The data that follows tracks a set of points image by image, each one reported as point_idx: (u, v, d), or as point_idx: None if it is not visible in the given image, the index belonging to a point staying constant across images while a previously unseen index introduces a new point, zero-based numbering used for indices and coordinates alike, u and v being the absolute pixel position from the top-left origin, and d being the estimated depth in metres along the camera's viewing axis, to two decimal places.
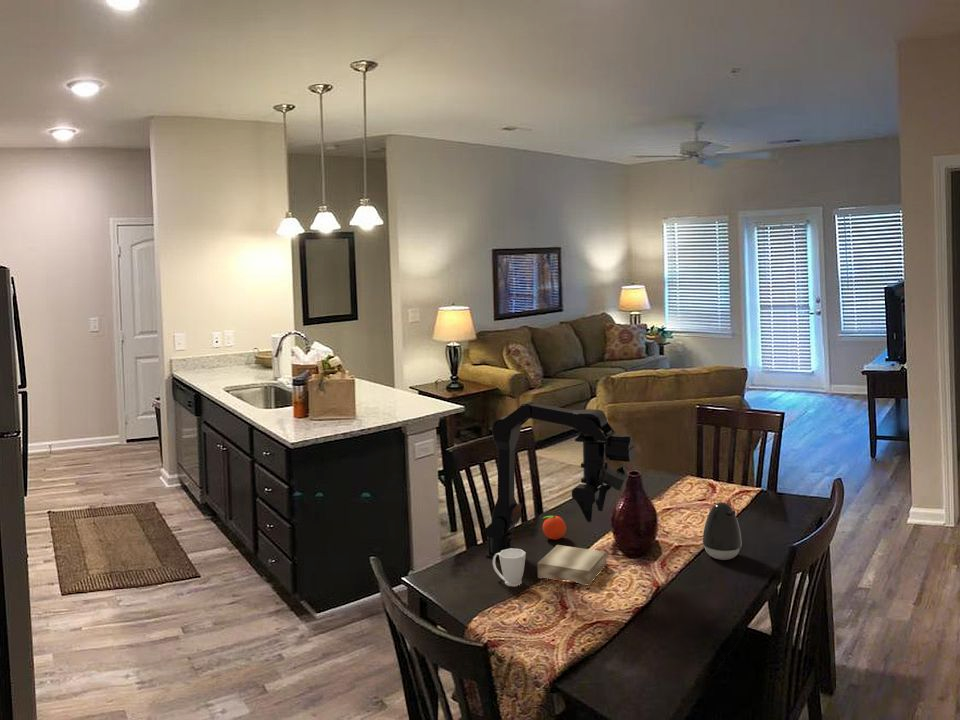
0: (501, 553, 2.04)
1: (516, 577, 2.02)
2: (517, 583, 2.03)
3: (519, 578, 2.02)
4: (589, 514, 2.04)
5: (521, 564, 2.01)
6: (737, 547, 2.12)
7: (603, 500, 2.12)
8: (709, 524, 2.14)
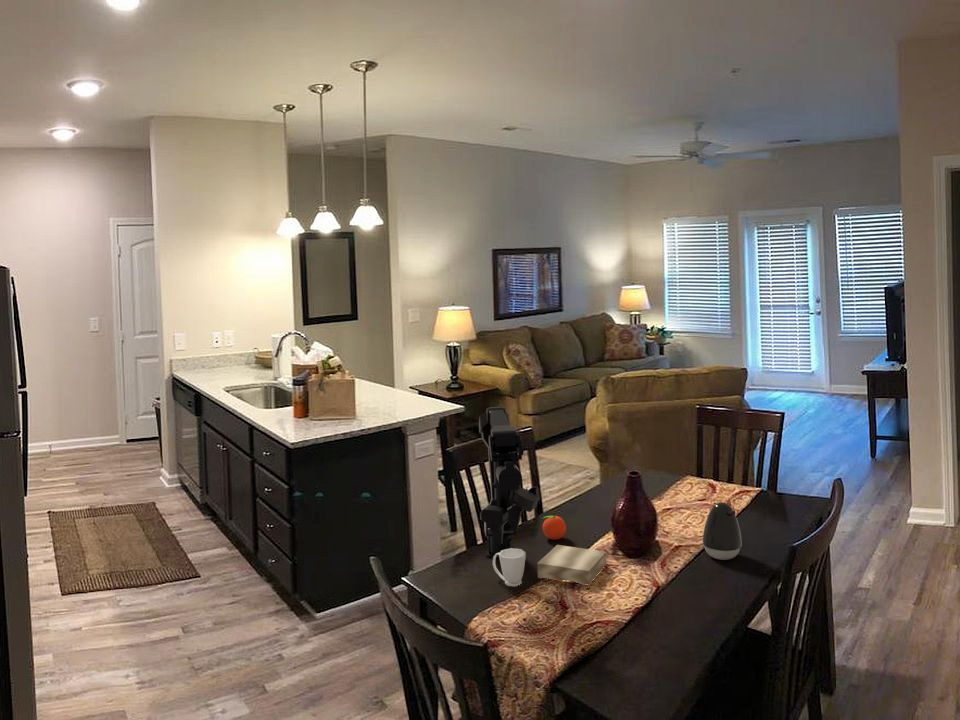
0: (501, 553, 2.04)
1: (516, 577, 2.02)
2: (517, 583, 2.03)
3: (519, 578, 2.02)
4: (499, 536, 1.99)
5: (521, 564, 2.01)
6: (737, 547, 2.12)
7: (517, 521, 2.07)
8: (709, 524, 2.14)
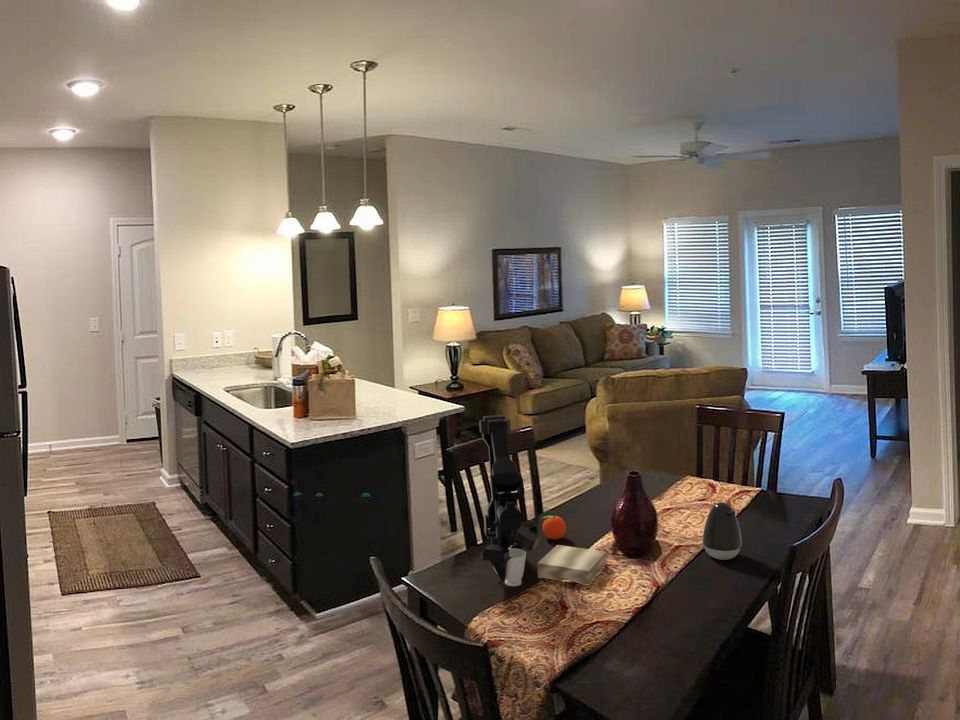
0: None
1: (516, 577, 2.02)
2: (517, 583, 2.03)
3: (519, 578, 2.02)
4: (502, 573, 2.01)
5: (521, 564, 2.01)
6: (737, 547, 2.12)
7: None
8: (709, 524, 2.14)
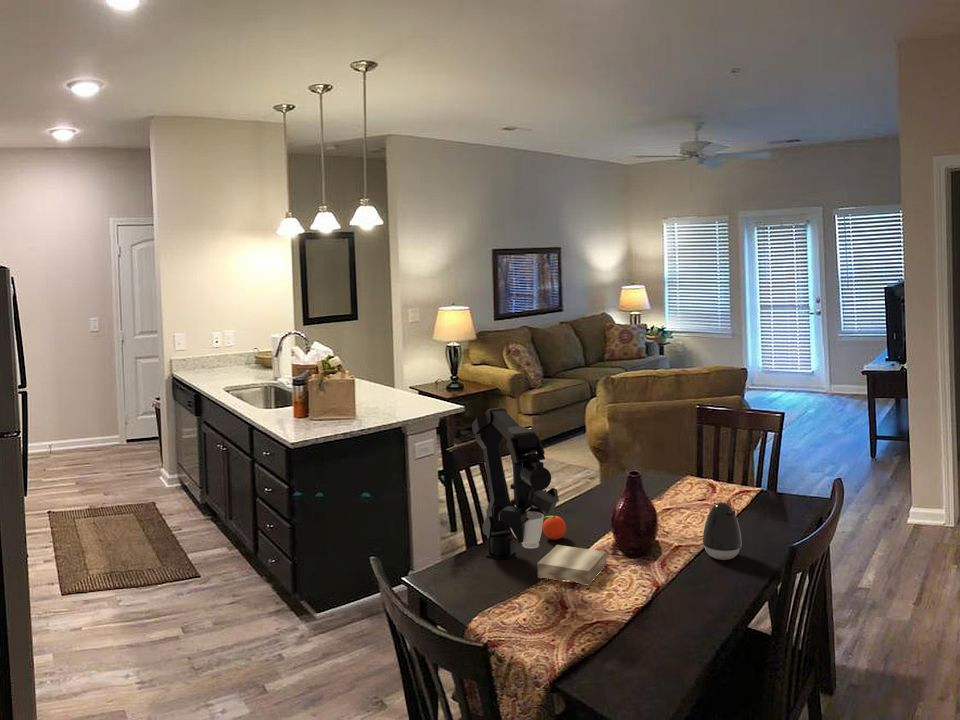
0: None
1: (533, 539, 2.02)
2: (534, 545, 2.03)
3: (536, 540, 2.02)
4: (520, 535, 2.01)
5: (539, 526, 2.02)
6: (737, 547, 2.12)
7: None
8: (709, 524, 2.14)
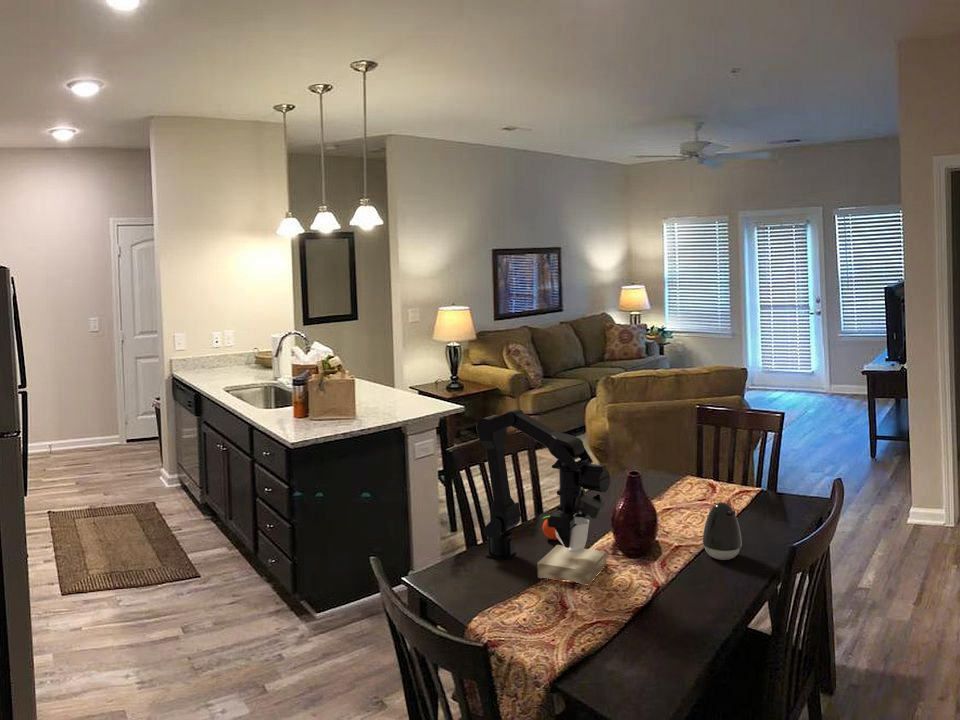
0: None
1: (580, 544, 2.06)
2: (580, 550, 2.07)
3: (583, 545, 2.06)
4: (567, 540, 2.05)
5: (585, 531, 2.06)
6: (737, 547, 2.12)
7: None
8: (709, 524, 2.14)
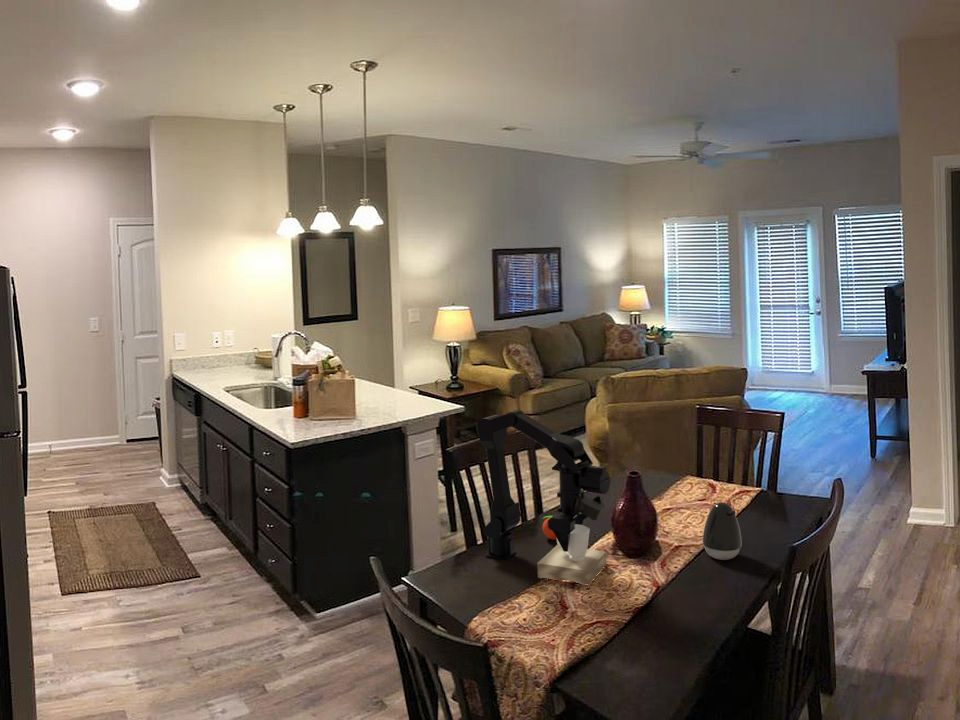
0: None
1: (581, 552, 2.06)
2: (581, 558, 2.07)
3: (583, 553, 2.07)
4: (565, 544, 2.04)
5: (585, 539, 2.06)
6: (737, 547, 2.12)
7: None
8: (709, 524, 2.14)
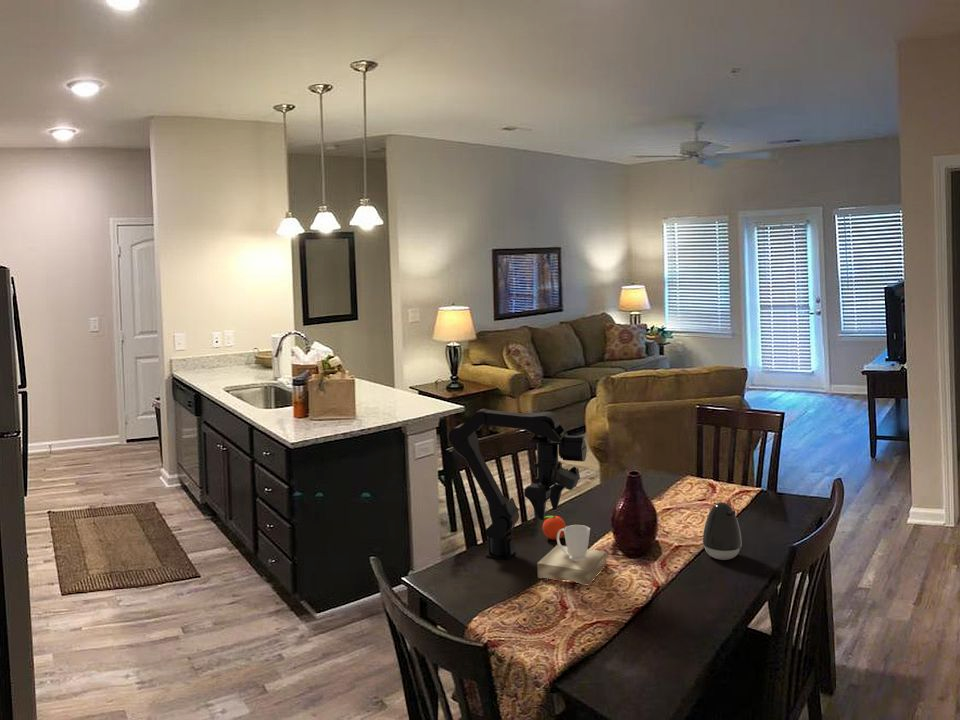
0: (566, 529, 2.09)
1: (581, 552, 2.06)
2: (581, 558, 2.07)
3: (584, 553, 2.07)
4: (541, 512, 2.12)
5: (586, 539, 2.06)
6: (737, 547, 2.12)
7: (557, 499, 2.21)
8: (709, 524, 2.14)
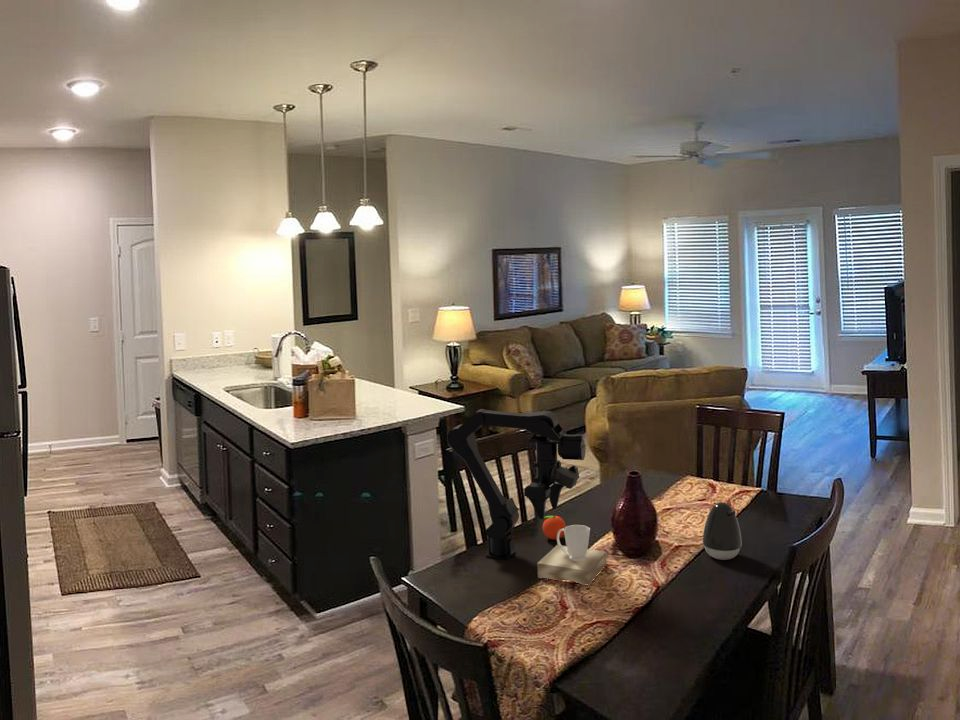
0: (566, 529, 2.09)
1: (581, 552, 2.06)
2: (581, 558, 2.07)
3: (584, 553, 2.07)
4: (541, 511, 2.12)
5: (586, 539, 2.06)
6: (737, 547, 2.12)
7: (556, 498, 2.21)
8: (709, 524, 2.14)
